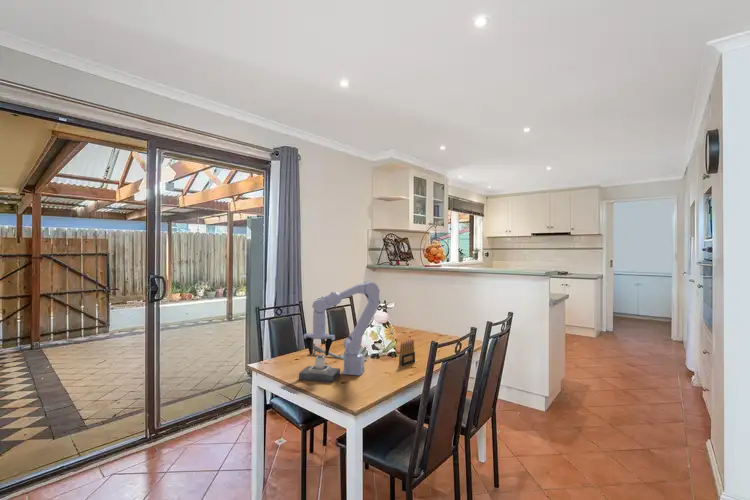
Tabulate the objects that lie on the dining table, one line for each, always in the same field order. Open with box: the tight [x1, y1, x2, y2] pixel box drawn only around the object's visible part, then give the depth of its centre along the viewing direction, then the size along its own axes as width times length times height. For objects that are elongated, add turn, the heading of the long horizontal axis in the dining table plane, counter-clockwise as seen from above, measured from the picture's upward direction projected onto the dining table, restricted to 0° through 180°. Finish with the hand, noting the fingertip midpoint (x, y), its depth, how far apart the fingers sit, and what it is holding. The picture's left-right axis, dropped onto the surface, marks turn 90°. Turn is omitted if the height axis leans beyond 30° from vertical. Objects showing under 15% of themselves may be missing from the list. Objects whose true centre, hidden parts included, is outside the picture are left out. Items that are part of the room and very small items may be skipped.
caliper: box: [312, 342, 342, 360], centre depth 197 cm, size 20×1×6 cm, turn 61°
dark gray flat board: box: [298, 364, 341, 384], centre depth 162 cm, size 16×10×4 cm, turn 78°
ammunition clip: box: [398, 338, 416, 367], centre depth 184 cm, size 11×2×12 cm, turn 135°
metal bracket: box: [339, 344, 369, 362], centre depth 195 cm, size 14×6×15 cm
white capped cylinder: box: [314, 353, 326, 370], centre depth 163 cm, size 4×4×7 cm
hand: (319, 354), depth 166 cm, fingers open, 7 cm apart
